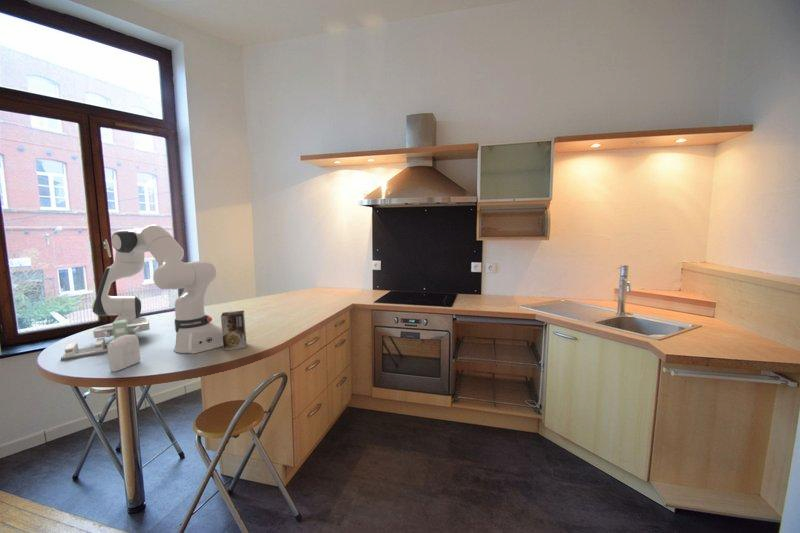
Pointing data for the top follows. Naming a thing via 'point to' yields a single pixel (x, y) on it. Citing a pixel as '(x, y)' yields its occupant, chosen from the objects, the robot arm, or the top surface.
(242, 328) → the coffee box
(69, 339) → the top surface
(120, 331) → the loose module
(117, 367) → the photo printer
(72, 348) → the rail board
